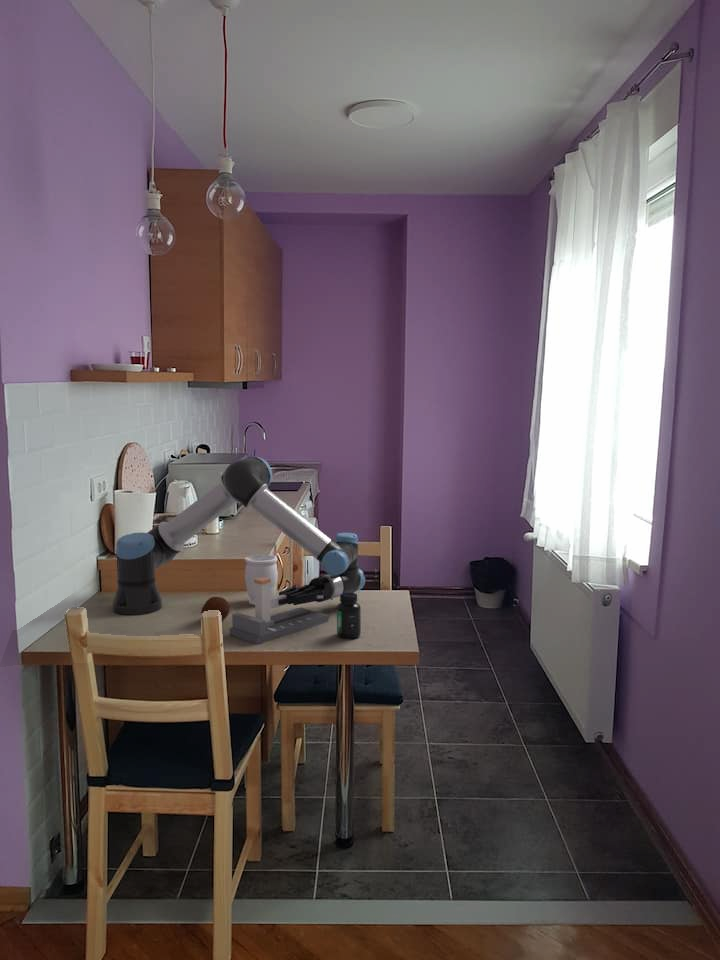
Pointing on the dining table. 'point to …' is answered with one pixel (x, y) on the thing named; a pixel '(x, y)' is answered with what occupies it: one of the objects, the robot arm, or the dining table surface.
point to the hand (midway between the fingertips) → (268, 604)
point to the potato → (217, 606)
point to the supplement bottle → (348, 617)
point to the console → (283, 624)
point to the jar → (260, 573)
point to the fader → (263, 600)
